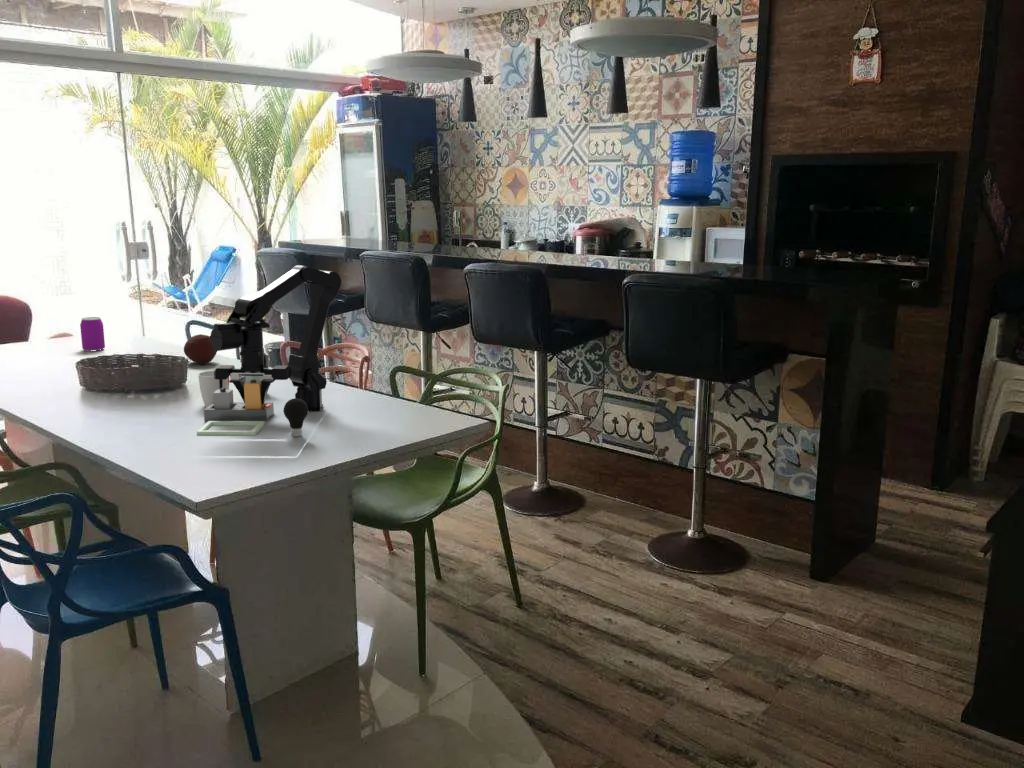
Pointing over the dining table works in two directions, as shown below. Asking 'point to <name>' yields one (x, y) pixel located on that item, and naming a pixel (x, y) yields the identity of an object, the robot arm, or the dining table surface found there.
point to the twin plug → (223, 399)
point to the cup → (210, 386)
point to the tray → (204, 431)
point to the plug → (253, 394)
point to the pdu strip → (238, 413)
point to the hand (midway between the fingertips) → (254, 404)
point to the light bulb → (296, 415)
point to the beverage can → (92, 333)
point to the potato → (199, 349)
